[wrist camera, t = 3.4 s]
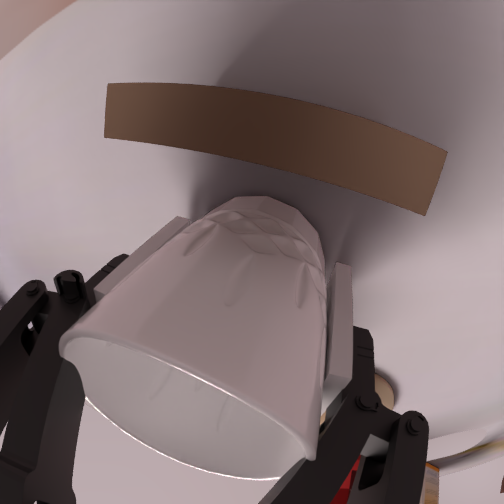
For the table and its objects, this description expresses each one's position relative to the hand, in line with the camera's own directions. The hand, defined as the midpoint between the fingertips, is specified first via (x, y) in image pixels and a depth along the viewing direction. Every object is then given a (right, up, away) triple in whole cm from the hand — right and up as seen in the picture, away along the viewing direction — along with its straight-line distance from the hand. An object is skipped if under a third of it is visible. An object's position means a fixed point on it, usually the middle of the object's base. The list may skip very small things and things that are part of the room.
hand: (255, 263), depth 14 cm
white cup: (0, 0, +1) cm, 1 cm away
